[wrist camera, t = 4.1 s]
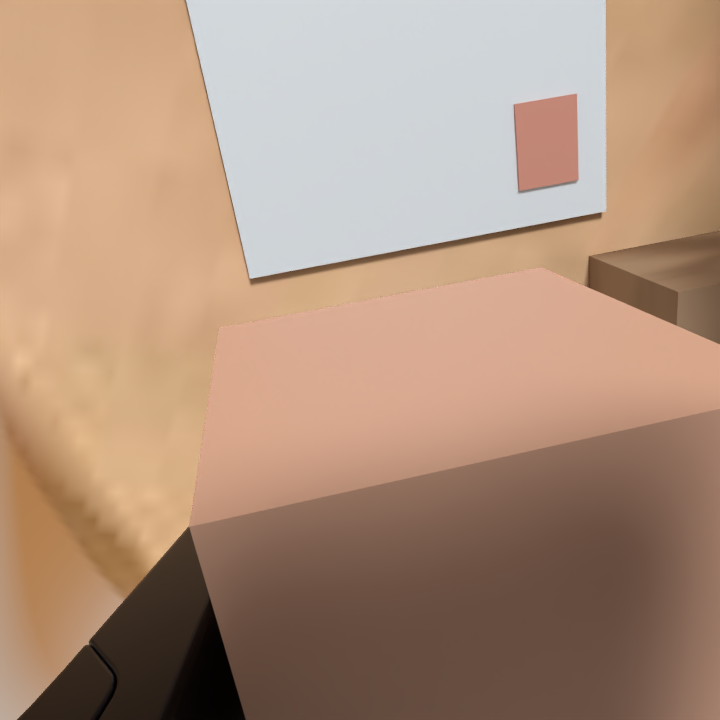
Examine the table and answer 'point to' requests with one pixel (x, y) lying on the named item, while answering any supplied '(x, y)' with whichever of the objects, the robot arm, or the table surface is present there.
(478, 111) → the envelope
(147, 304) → the table surface
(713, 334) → the walnut block
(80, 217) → the table surface
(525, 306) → the block
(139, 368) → the table surface
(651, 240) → the table surface
